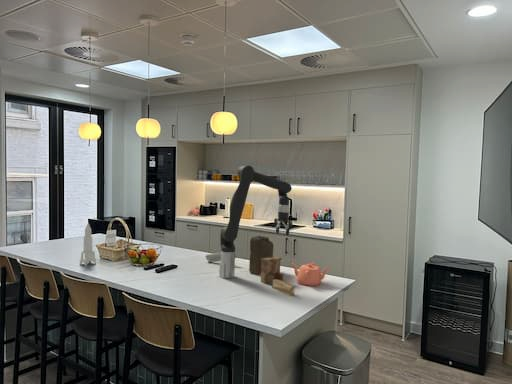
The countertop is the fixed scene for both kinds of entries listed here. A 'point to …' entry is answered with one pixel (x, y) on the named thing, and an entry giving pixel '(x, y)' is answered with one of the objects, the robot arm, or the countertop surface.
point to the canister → (259, 252)
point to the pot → (309, 274)
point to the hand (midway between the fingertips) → (282, 234)
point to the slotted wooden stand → (270, 270)
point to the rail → (283, 287)
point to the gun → (214, 257)
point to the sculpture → (88, 247)
